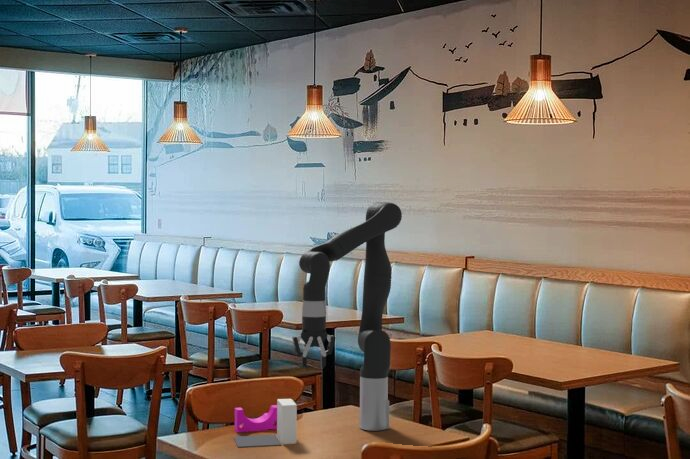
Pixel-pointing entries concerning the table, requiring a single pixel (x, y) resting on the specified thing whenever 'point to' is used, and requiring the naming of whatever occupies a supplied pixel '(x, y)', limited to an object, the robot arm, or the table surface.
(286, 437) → the white rectangular block
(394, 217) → the robot arm
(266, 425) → the toy block
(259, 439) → the mat
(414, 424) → the table surface
